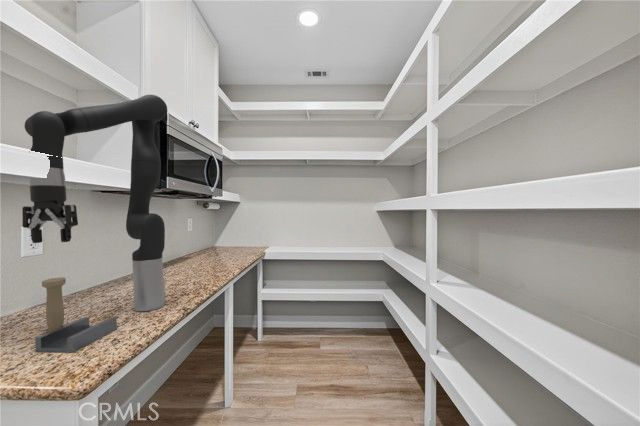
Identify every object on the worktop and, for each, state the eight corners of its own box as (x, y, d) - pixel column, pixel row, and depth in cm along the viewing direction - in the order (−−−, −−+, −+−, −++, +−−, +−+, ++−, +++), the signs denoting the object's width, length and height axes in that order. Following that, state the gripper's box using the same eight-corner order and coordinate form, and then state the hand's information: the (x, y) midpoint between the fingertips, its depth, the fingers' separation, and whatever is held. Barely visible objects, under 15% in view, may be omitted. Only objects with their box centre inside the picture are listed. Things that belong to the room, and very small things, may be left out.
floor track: (84, 329, 87) (84, 317, 87) (116, 329, 87) (116, 317, 87) (35, 352, 74) (35, 337, 73) (73, 352, 73) (72, 338, 73)
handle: (69, 326, 90) (67, 276, 90) (63, 333, 84) (61, 280, 84) (48, 329, 88) (46, 278, 88) (41, 337, 82) (38, 283, 82)
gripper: (83, 184, 87) (86, 240, 88) (37, 186, 88) (41, 241, 89) (59, 183, 80) (63, 243, 80) (10, 185, 81) (13, 244, 81)
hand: (51, 242), depth 85 cm, fingers open, 8 cm apart
